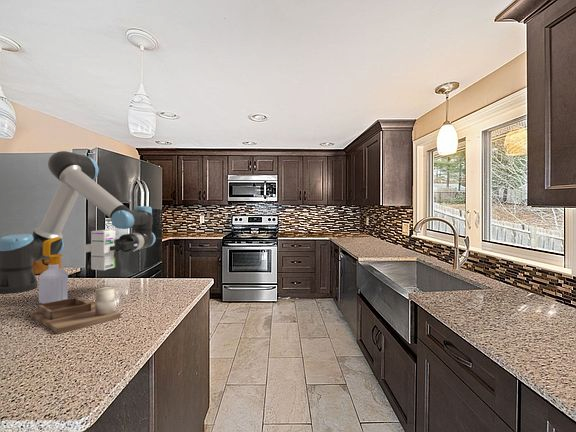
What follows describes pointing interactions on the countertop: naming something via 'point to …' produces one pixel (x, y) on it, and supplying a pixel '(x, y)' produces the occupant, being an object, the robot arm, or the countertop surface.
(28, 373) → the countertop surface
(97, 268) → the syrup box
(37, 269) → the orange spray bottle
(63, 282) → the soap bottle
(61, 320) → the caddy
